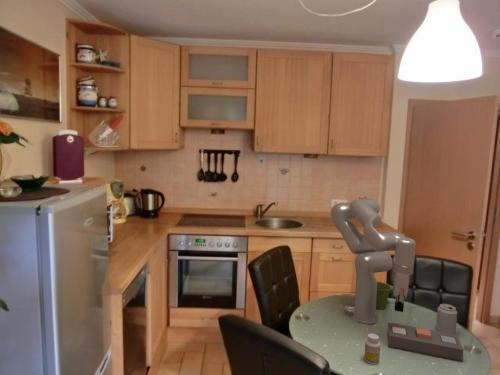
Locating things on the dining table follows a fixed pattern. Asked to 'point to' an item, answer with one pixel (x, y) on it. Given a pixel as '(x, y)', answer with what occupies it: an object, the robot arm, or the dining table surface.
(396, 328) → the cream key
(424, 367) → the dining table surface
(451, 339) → the slate key
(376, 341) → the supplement bottle
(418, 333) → the terracotta key
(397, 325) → the key panel
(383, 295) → the plant pot
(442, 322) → the can
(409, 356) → the dining table surface
